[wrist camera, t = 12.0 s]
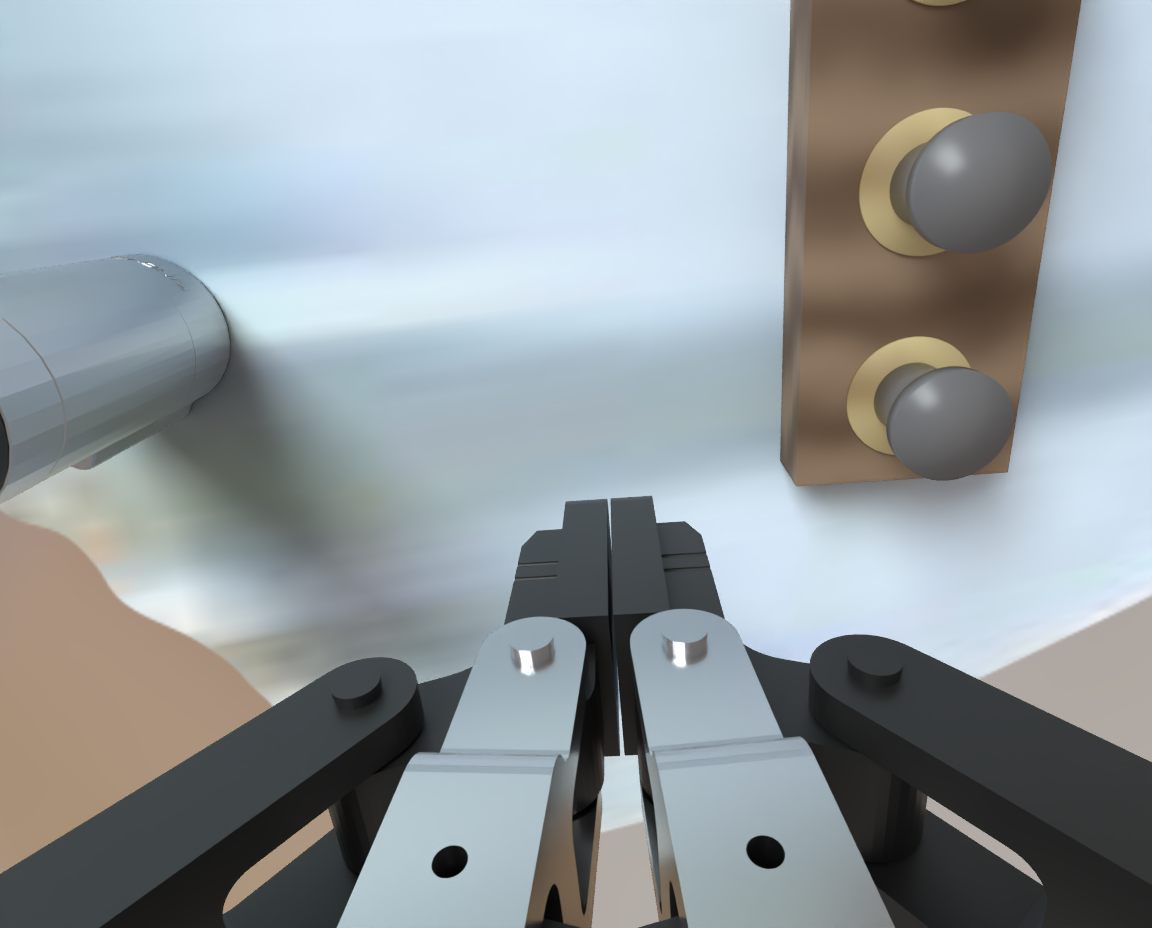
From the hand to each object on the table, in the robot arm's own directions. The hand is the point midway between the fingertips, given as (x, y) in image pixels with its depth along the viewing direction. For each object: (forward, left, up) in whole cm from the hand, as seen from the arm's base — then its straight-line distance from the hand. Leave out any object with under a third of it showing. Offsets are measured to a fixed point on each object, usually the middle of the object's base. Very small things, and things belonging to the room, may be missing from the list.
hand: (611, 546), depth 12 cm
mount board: (+12, -12, -31) cm, 35 cm away
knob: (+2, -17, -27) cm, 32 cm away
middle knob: (+12, -12, -27) cm, 32 cm away
